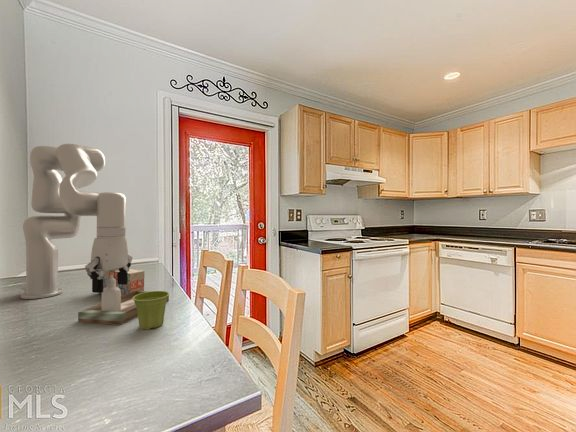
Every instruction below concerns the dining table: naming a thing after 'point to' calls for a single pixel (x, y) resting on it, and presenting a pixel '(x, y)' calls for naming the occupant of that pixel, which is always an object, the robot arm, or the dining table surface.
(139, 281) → the stack of blocks
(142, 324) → the plant pot
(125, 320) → the divided wooden tray
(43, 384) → the dining table surface
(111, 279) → the eye dropper bottle
